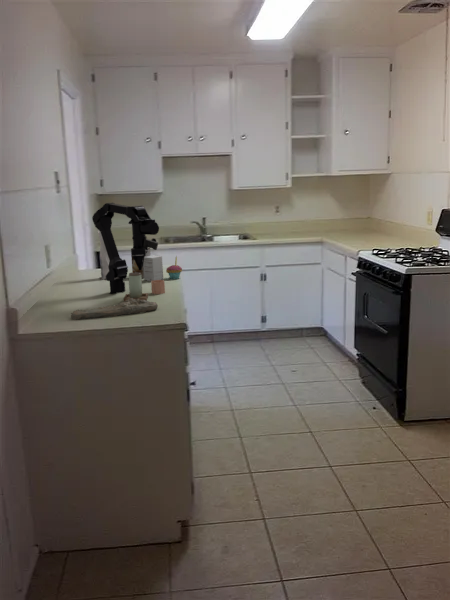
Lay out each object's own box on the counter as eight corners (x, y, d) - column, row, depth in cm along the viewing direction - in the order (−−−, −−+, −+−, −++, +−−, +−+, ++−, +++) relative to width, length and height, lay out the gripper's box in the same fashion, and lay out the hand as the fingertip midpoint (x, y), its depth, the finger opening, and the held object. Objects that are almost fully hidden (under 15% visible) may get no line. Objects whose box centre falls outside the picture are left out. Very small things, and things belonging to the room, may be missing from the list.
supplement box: (154, 278, 309) (152, 255, 307) (163, 279, 305) (162, 255, 302) (144, 280, 304) (142, 256, 301) (153, 281, 299) (152, 257, 296)
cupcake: (175, 276, 313) (174, 254, 310) (185, 277, 307) (184, 255, 304) (163, 278, 307) (162, 256, 304) (173, 280, 301) (172, 257, 298)
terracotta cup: (151, 295, 264) (151, 282, 263) (152, 292, 270) (151, 280, 269) (164, 294, 265) (164, 281, 263) (165, 292, 270) (164, 279, 269)
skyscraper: (98, 277, 316) (94, 227, 310) (113, 276, 319) (109, 226, 314) (101, 280, 309) (97, 228, 303) (116, 278, 312) (112, 227, 306)
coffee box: (132, 277, 314) (130, 248, 311) (139, 275, 319) (137, 247, 316) (144, 278, 309) (142, 249, 306) (152, 276, 315) (150, 247, 311)
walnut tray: (123, 302, 250) (123, 298, 250) (126, 298, 260) (125, 294, 260) (146, 301, 251) (146, 297, 251) (148, 297, 261) (147, 293, 260)
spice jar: (128, 299, 253) (127, 274, 251) (131, 296, 258) (130, 272, 256) (140, 299, 252) (139, 274, 250) (143, 296, 258) (142, 272, 256)
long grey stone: (70, 320, 230) (73, 326, 221) (68, 307, 228) (71, 314, 219) (154, 305, 241) (160, 311, 232) (153, 293, 240) (159, 299, 231)
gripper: (155, 235, 248) (158, 270, 252) (157, 231, 266) (159, 264, 270) (130, 236, 248) (132, 271, 251) (133, 232, 266) (136, 265, 269)
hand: (141, 268), depth 260 cm, fingers open, 9 cm apart
